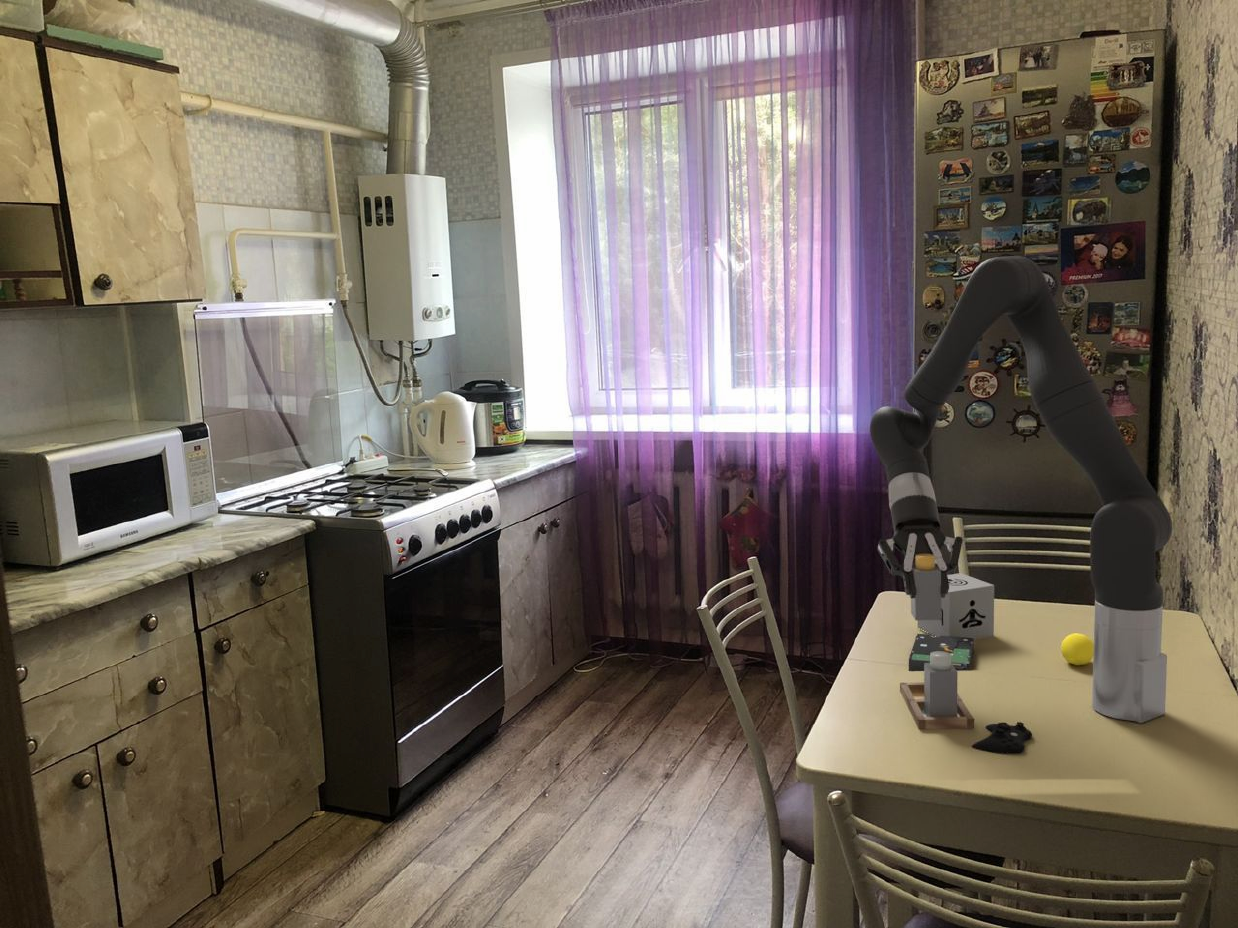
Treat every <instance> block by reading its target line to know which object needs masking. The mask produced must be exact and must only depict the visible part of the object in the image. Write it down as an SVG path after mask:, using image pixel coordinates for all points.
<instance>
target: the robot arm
mask: <svg viewBox="0 0 1238 928" xmlns="http://www.w3.org/2000/svg"><path fill="white" fill-rule="evenodd" d="M970 275H971V276H970V277H969V279H968V281H967V282H966V285H965V286H964V288H963V291H962V293H961V295H960V297H959V299H958V301H957V303H956V306H955V307H954V310H953V312H952V313H951V316H950V317H949V319H948V321H947V323H946V325H945V327H944V328H943V331H942V333H941V334H940V336H939V338H938V339H937V341H936V343H935V344H934V346H933V348H932V349H931V351H930V352H929V354H928V355H927V357H926V358H925V360H924V361H923V362H922V363H921V365H920V367H919V368H918V370H917V371H916V372H915V374H914V375H913V377H912V378H911V379H910V380H909V382H908V383H907V385H906V387H905V389H904V394H903V395H904V396H903V397H904V399H905V401H906V402H907V403H908V405H910V406H911V407H912V408H913V409H915V410H916V411H914V412H912V411H908V410H905V409H901V408H898V407H896V406H895V407H894V406H888V405H887V406H886V405H885V406H883V407H881V408H878V409H876V411H875V412H874V414H873V415H872V417H871V421H870V423H869V424H870V425H869V435H870V439H871V441H872V445H873V446H874V448H875V450H876V452H877V455H878V457H879V459H880V461H881V462H882V464H883V466H884V468H885V472H886V480H887V487H888V502H889V503H888V505H889V509H890V510H889V511H890V515H891V521H892V528H893V536H892V538H889V539H886V538H880V539H879V540H878V545H877V552H878V553H879V556H880V557H881V559H882V560H883V562H884V564H885V566H886V568H887V570H888V571H889V574H890V575H891V576H894V577H896V576H899V577H901V578H902V580H903V585H904V592H905V594H906V595H907V596H909V597H910V599H911V598H915V596H916V586H915V582H914V576H913V572H912V571H911V570H912V565H913V564H914V563H913V562H916V557H915V556H916V555H917V554H933V555H935V565H936V566H937V567H938V568H939V569H940V570H941V598H945V595H946V594H948V590H949V582H948V577H947V575H952V574H956V572H957V567H958V564H959V561H960V556H961V555H960V554H961V550H962V546H963V541H964V540H963V537H962V536H960V535H958V536H955V538H953V537H950V536H946V534H945V533H944V532H943V531H944V530H943V529H942V526H941V520H940V516H939V511H938V504H937V500H936V495H935V489H934V487H933V484H932V482H931V481H932V480H931V476H930V469H929V465H928V461H927V458H926V456H925V455H924V454H923V452H921V450H923V449H924V448H925V447H926V446H927V445H928V444H929V443H930V440H931V438H932V435H933V432H934V428H935V426H936V423H937V422H938V419H939V416H940V413H941V412H942V408H943V407H944V406H945V404H946V403H947V402H948V400H949V399H950V397H951V396H952V395H953V394H954V392H955V391H956V389H957V388H958V387H959V385H960V383H961V382H962V381H963V379H964V378H965V375H966V373H967V370H968V368H969V365H970V363H971V359H972V356H973V353H974V351H975V348H976V347H977V345H978V343H979V342H980V340H981V339H982V337H983V336H984V334H985V333H986V332H987V331H988V329H990V328H991V327H992V325H994V324H995V323H996V322H997V321H998V320H999V319H1000V318H1001V317H1003V316H1006V318H1008V320H1009V322H1010V324H1011V325H1012V327H1013V328H1014V330H1015V332H1016V334H1017V336H1018V338H1019V340H1020V342H1021V344H1022V346H1023V349H1024V354H1025V358H1026V359H1025V360H1026V370H1027V371H1026V373H1027V381H1028V387H1029V392H1030V395H1031V396H1030V397H1031V399H1032V401H1033V402H1032V403H1033V404H1034V406H1035V407H1036V411H1037V412H1038V414H1039V416H1040V417H1041V420H1042V421H1043V423H1044V426H1045V427H1046V429H1047V431H1048V433H1049V434H1050V437H1052V438H1053V440H1054V442H1055V443H1057V445H1059V446H1060V448H1061V449H1062V450H1063V451H1065V453H1066V454H1067V455H1068V456H1069V457H1070V458H1071V459H1073V461H1074V462H1075V463H1076V464H1077V465H1078V466H1079V467H1080V468H1081V469H1082V470H1083V472H1085V474H1086V475H1087V476H1088V478H1089V480H1090V481H1091V483H1092V485H1093V487H1094V488H1095V490H1096V493H1097V495H1098V496H1099V499H1100V501H1101V503H1102V505H1103V507H1101V508H1100V509H1099V510H1098V511H1097V512H1096V513H1095V515H1094V517H1093V519H1092V522H1091V525H1090V526H1091V527H1090V537H1089V555H1090V556H1089V559H1090V560H1089V561H1090V562H1089V565H1090V568H1089V569H1090V579H1091V584H1092V586H1093V588H1094V622H1093V623H1094V624H1093V625H1094V626H1093V628H1094V629H1093V644H1094V655H1093V658H1092V660H1093V661H1092V663H1093V664H1092V697H1091V698H1092V702H1091V703H1092V705H1091V706H1092V708H1093V709H1094V710H1095V711H1096V712H1098V713H1099V714H1101V715H1103V716H1107V717H1110V718H1113V719H1117V720H1122V721H1123V720H1124V721H1132V722H1136V723H1139V724H1143V723H1145V722H1148V721H1150V720H1153V719H1155V718H1158V717H1161V716H1164V715H1165V714H1166V697H1167V696H1166V694H1167V673H1168V672H1167V671H1168V670H1167V669H1168V668H1167V667H1168V656H1167V654H1166V653H1163V652H1162V636H1163V635H1162V634H1163V609H1164V607H1163V605H1164V589H1163V587H1162V585H1161V584H1160V583H1158V582H1157V579H1156V552H1158V551H1160V550H1161V549H1163V548H1164V547H1165V546H1166V545H1167V544H1168V543H1169V540H1170V539H1171V536H1172V533H1173V521H1172V517H1171V515H1170V513H1169V510H1168V509H1167V507H1166V505H1165V503H1164V502H1163V501H1162V499H1161V498H1160V496H1159V494H1158V493H1157V492H1156V490H1155V488H1154V487H1153V486H1152V484H1151V483H1150V482H1149V480H1148V478H1147V477H1146V476H1145V473H1144V472H1143V471H1142V470H1141V468H1140V466H1139V465H1138V463H1137V461H1136V460H1135V458H1134V456H1133V454H1132V451H1130V449H1129V447H1128V444H1127V442H1126V440H1125V438H1124V435H1123V434H1122V432H1121V430H1120V429H1119V426H1118V424H1117V422H1116V421H1115V419H1114V417H1113V415H1112V412H1111V410H1110V409H1109V406H1108V405H1107V402H1106V400H1105V398H1104V396H1103V394H1102V393H1101V391H1100V389H1099V387H1098V385H1097V383H1096V381H1095V379H1094V378H1093V376H1092V374H1091V372H1090V370H1089V369H1088V367H1087V365H1086V364H1085V362H1084V360H1083V358H1082V356H1081V354H1080V352H1079V350H1078V349H1077V347H1076V344H1075V342H1074V341H1073V339H1072V337H1071V336H1070V334H1069V332H1068V330H1067V328H1066V326H1065V324H1064V322H1063V319H1062V317H1061V315H1060V312H1059V309H1058V307H1057V305H1056V302H1055V299H1054V298H1053V294H1052V292H1051V289H1050V286H1049V283H1048V282H1047V279H1046V277H1045V274H1044V273H1043V271H1042V270H1041V268H1040V267H1039V265H1038V264H1037V263H1036V262H1034V261H1033V260H1032V259H1030V258H1027V257H1025V256H1019V255H1014V256H1012V255H1010V256H998V257H996V256H995V257H992V258H989V259H986V260H984V261H983V262H981V263H980V264H979V265H977V266H976V268H975V269H974V271H973V272H972V274H970ZM944 545H945V546H947V551H948V552H950V559H949V562H948V563H946V562H945V561H944V559H943V555H942V552H941V549H942V548H943V546H944ZM894 547H895V548H896V549H897V550H898V551H899V552H900V553H901V554H903V556H904V560H903V561H904V562H903V564H900V563H899V561H898V559H897V557H896V555H895V553H894V552H893V551H894Z"/></svg>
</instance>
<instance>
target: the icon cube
mask: <svg viewBox="0 0 1238 928" xmlns="http://www.w3.org/2000/svg"><path fill="white" fill-rule="evenodd" d="M947 577H948V582H949V590H948V594H946V595H945V598H941V620H917V629H918V628H920V629H922V630H924V631H926V632H928V633H930V634H932V635H934V636H936V637H939V636H952V637H966V638H974V640H979V639H985V638H991V637H994V635H995V634H994V631H995V585H994V584H992V583H989V582H986V581H983V580H980V579H978V578H975V577H972V576H970V575H966V574H964V573H962V572H961V573H960V572H959V573H955V574H948V575H947ZM922 630H921V631H922ZM924 631H923V632H924ZM926 632H925V633H926ZM928 633H927V634H928ZM930 634H929V635H930ZM932 635H931V636H932ZM934 636H933V637H934Z"/></svg>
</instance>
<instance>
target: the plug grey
mask: <svg viewBox="0 0 1238 928" xmlns="http://www.w3.org/2000/svg"><path fill="white" fill-rule="evenodd" d="M923 673H924V674H923V675H924V676H923V677H924V679H923V682H924V713H925V715H926V717H957V693H958V671H956V669H955V668H954V666H953V665H952V663H951V654H950V653H947V652H943V651H935V652H932V653H930V663H924V671H923Z"/></svg>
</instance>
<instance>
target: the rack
mask: <svg viewBox="0 0 1238 928" xmlns="http://www.w3.org/2000/svg"><path fill="white" fill-rule="evenodd" d="M899 692H900V694H901V696H902V698H903V700H904V702H905V705H906V706H907V708H908V710H909V712H910V715H911V716H912V719H913V721H914V723H915V725H916V726H917V728H918V730H972V729H975V718H974V717H973V715H972V713H971V712H970V710H969V709H968V707H967V706H966V704H965V703H964V701H963V699H962V698H961V696H960V694H959V693H958V692H957V717H926V715H925V713H924V681H923V682H918V681H917V682H915V681H914V682H899Z"/></svg>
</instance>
